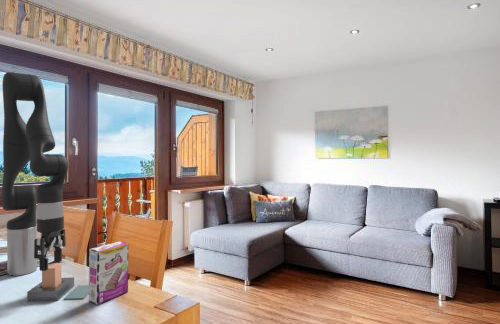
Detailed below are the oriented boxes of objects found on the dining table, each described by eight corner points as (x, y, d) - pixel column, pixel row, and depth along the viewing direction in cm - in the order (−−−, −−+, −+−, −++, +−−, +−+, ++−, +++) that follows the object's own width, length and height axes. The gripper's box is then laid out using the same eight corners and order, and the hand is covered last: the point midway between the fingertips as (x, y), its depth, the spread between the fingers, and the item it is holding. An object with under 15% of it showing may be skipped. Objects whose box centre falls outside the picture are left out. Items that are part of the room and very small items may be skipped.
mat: (78, 286, 110) (78, 285, 110) (96, 285, 111) (96, 284, 111) (63, 299, 100) (63, 298, 100) (83, 299, 101) (83, 297, 101)
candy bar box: (98, 306, 96) (97, 251, 96) (88, 302, 99) (87, 249, 99) (129, 292, 106) (129, 242, 106) (119, 288, 109) (119, 240, 108)
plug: (48, 291, 107) (48, 264, 106) (61, 290, 107) (61, 263, 107) (42, 296, 103) (41, 268, 102) (55, 296, 103) (55, 268, 103)
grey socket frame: (46, 286, 110) (46, 278, 110) (74, 286, 111) (74, 277, 111) (27, 301, 99) (27, 292, 99) (57, 300, 100) (57, 291, 100)
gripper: (50, 212, 111) (51, 259, 111) (24, 220, 97) (25, 274, 97) (72, 212, 111) (73, 258, 112) (50, 219, 97) (51, 273, 97)
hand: (51, 265), depth 104 cm, fingers open, 8 cm apart
